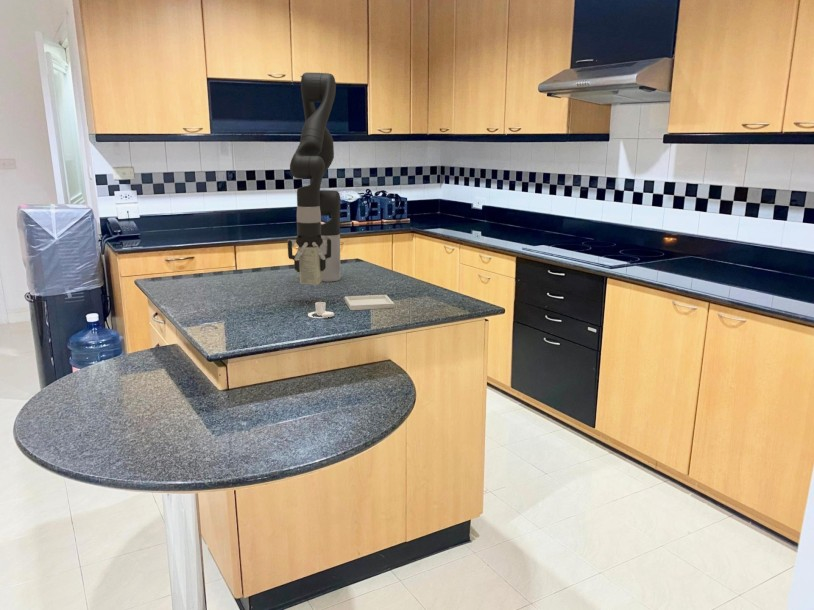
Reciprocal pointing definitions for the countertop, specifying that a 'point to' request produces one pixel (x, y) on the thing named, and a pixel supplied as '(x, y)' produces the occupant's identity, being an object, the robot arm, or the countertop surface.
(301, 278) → the skincare box
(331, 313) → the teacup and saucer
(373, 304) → the tray
